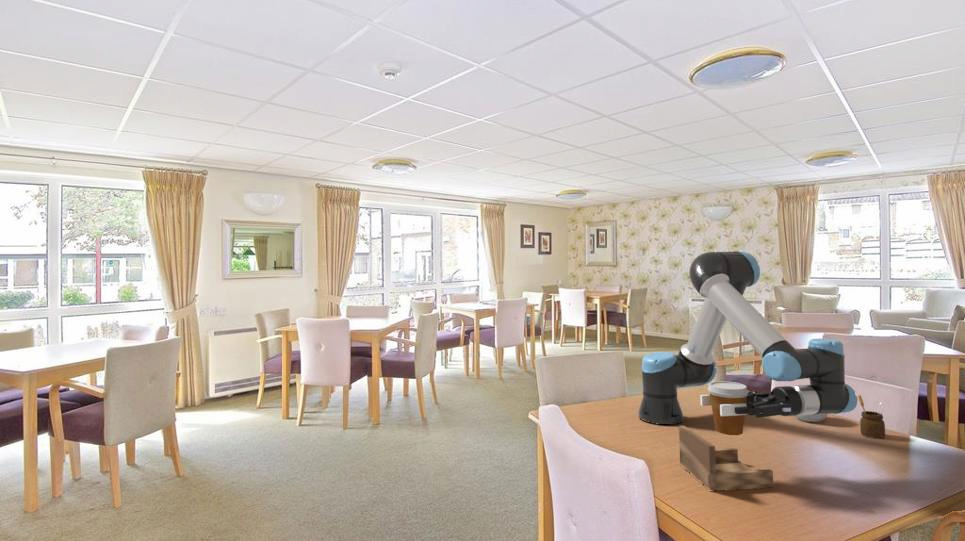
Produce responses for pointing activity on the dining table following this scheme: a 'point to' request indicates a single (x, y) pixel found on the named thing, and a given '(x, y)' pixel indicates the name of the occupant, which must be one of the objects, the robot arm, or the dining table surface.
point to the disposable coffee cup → (727, 395)
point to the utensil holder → (871, 422)
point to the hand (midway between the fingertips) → (710, 405)
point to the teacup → (812, 417)
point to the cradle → (718, 465)
